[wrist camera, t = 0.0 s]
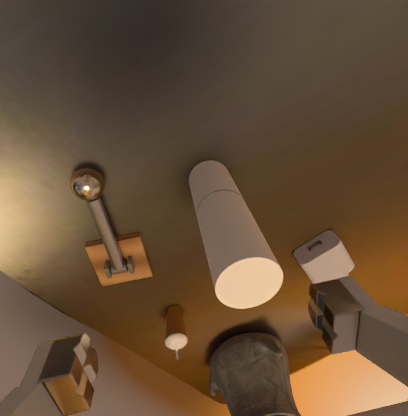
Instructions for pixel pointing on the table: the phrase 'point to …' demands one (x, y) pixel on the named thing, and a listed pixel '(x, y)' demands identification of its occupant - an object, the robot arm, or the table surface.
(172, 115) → the table surface
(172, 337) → the milkshake
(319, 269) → the charger
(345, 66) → the table surface
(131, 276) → the holder base
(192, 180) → the cylindrical container
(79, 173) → the ball topped rod
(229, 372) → the vessel
